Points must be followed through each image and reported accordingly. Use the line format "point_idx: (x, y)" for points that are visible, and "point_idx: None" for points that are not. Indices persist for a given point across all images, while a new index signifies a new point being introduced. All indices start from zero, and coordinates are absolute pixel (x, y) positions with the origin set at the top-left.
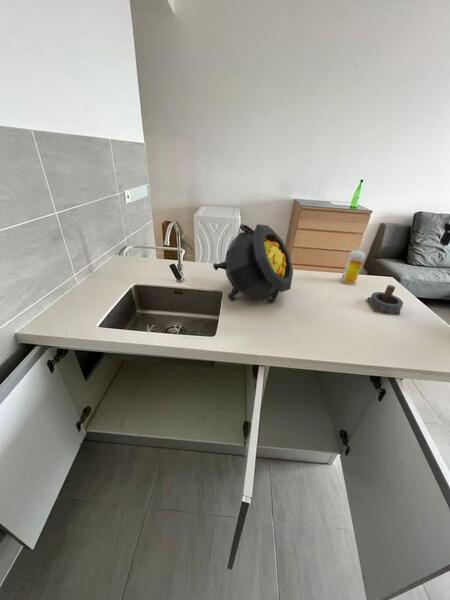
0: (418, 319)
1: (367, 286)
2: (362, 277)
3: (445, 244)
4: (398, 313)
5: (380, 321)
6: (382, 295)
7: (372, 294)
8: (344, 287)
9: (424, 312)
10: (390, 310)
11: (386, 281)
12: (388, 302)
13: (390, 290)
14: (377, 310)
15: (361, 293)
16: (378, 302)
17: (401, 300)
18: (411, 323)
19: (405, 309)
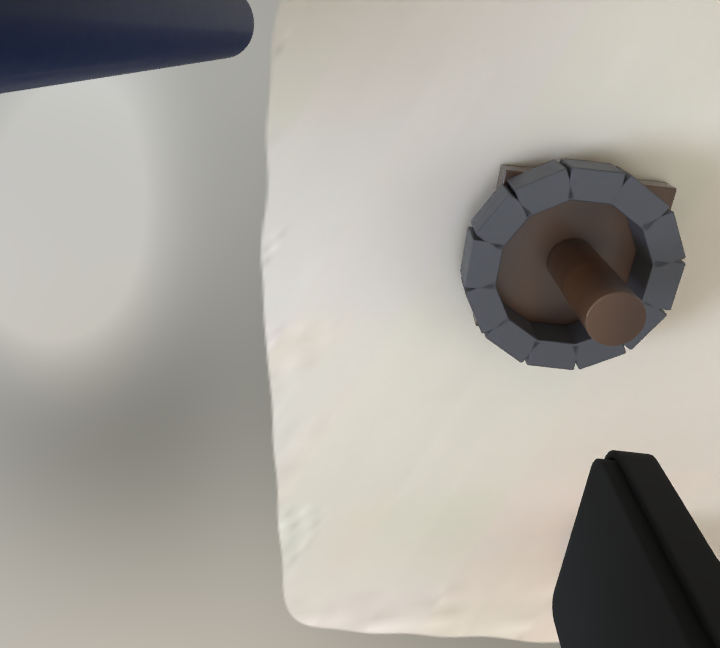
0: (386, 122)
1: (502, 505)
2: (467, 610)
3: (653, 470)
4: (507, 167)
5: (702, 53)
6: (557, 337)
7: (654, 326)
8: (684, 477)
9: (285, 222)
10: (590, 162)
11: (325, 578)
12: (517, 286)
13: (625, 285)
14: (654, 183)
15: (605, 414)
16: (674, 220)
17: (469, 266)
18: (473, 59)
19: (403, 244)
